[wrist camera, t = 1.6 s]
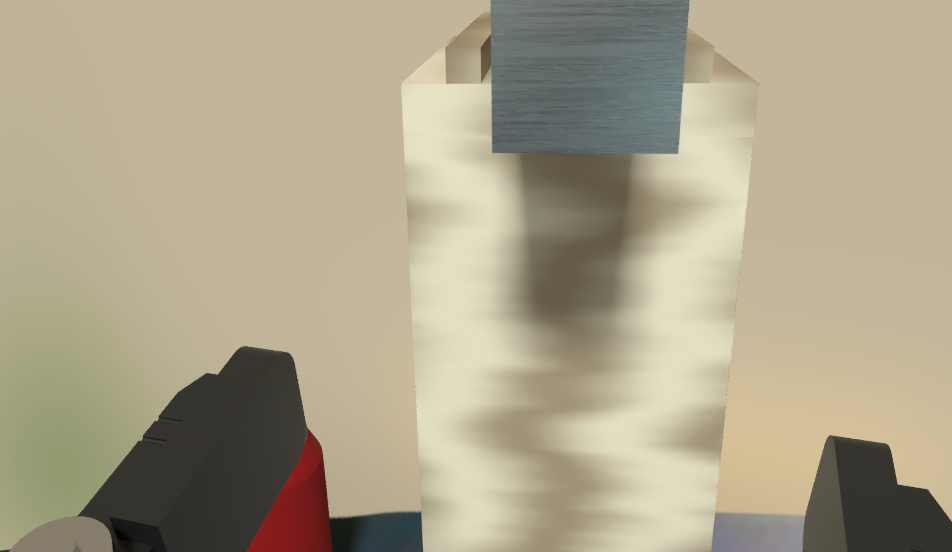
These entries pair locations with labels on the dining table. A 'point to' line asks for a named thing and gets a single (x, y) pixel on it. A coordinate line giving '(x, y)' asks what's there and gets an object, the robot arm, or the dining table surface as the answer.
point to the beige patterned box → (571, 317)
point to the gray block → (587, 75)
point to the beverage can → (299, 509)
